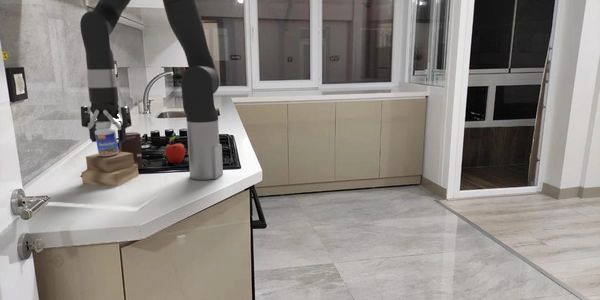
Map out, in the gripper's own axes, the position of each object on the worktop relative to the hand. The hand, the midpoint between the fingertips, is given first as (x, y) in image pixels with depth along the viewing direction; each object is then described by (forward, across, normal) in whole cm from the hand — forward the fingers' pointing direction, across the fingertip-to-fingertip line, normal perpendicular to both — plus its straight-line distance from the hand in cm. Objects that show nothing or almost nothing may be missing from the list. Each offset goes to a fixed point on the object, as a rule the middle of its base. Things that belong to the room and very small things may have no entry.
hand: (108, 141), depth 122 cm
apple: (+12, -10, -22) cm, 27 cm away
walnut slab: (+8, 0, 0) cm, 8 cm away
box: (+12, 0, -11) cm, 16 cm away
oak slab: (+12, 0, 0) cm, 12 cm away
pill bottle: (+4, 0, 0) cm, 4 cm away
